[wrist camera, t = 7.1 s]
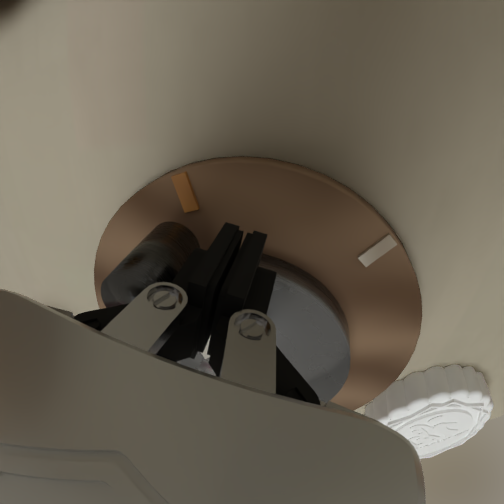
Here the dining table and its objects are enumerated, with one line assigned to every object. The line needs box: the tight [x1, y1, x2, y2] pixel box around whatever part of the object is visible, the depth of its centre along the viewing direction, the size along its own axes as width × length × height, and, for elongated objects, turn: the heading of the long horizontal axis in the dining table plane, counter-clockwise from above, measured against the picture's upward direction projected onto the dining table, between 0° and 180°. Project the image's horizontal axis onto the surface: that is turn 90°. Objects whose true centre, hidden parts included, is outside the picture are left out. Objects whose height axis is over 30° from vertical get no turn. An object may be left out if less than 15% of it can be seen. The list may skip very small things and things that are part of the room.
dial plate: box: [94, 156, 422, 410], centre depth 20 cm, size 22×22×2 cm
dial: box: [101, 222, 351, 403], centre depth 16 cm, size 16×13×6 cm
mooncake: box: [364, 364, 493, 459], centre depth 21 cm, size 12×12×4 cm
